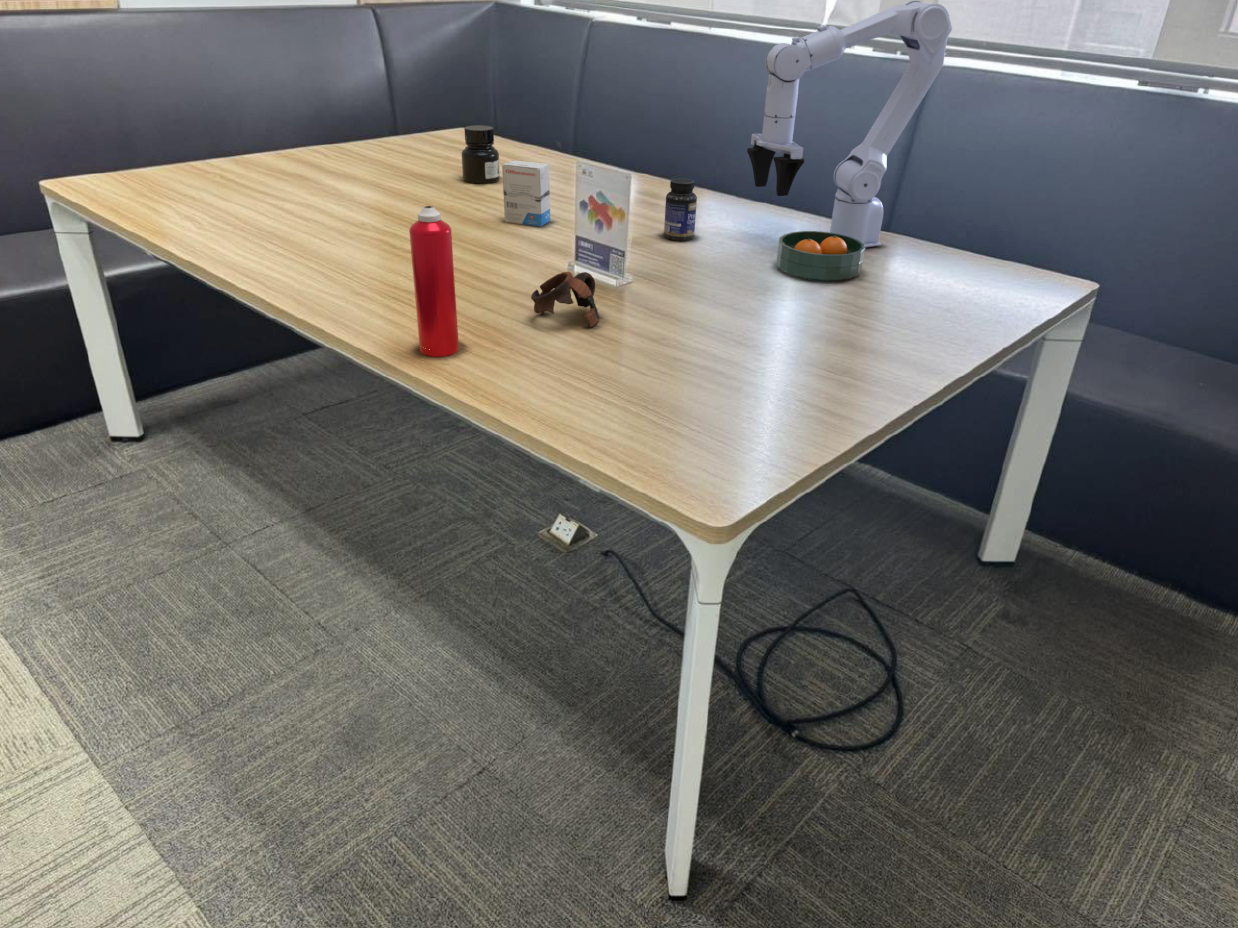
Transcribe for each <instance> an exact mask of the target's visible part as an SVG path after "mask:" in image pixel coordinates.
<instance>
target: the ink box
mask: <svg viewBox="0 0 1238 928" xmlns="http://www.w3.org/2000/svg"><path fill="white" fill-rule="evenodd" d="M501 168H502V169H501V170H502V171H501V172H502V173H501V174H502V187H503V188H502V189H503V192H502V193H503V209H504V222H505V223H511V224H516V225H517V224H518V225H525V226H532V227H539V228H540V227H543V226H544V225H547V224H548V223H549V222H551V198H550V197H551V196H550V195H551V194H550V193H551V192H550V164H548V163H542V162H532V161H523V160H511V161H508V162H505V163H503V164H502V165H501Z"/></svg>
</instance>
